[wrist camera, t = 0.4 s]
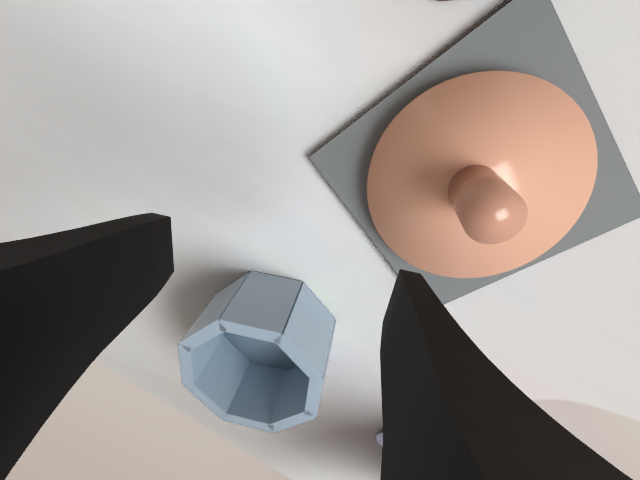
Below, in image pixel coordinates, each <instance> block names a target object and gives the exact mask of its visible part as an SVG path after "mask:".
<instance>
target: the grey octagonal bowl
mask: <svg viewBox="0 0 640 480" xmlns="http://www.w3.org/2000/svg"><path fill="white" fill-rule="evenodd" d="M335 322H336V320H335V317H334V316H333V315H332V314H331V313H330V312H329V311H328V309H327V308H326V307H325V306H324V305H323V304H322V302H321V301H320V300H319V299H318V298H317V297H316V296H315V294H314V293H313V292H312V291H311V290H310V289H309V288H308V286H307V285H306V284H305V283H304V282H303V283H302V281H299V280H294V279H289V278H284V277H279V276H274V275H269V274H264V273H259V272H255V271H251V272H248V273H247V274H245V275H243V276H242V277H240V278H239V279H237V280H236V281H234V282H233V283H231V284H230V285H228V286H227V287H225V288H224V289H222V290H220V291H219V292H217V293H216V294H215V296H214V297H213V298H212V300H211V301H210V302H209V304H208V305H207V306H206V307H205V309H204V310H203V311H202V313H201V314H200V315H199V317H198V318H197V319H196V321H195V322H194V323H193V325H192V326H191V327H190V329H189V330H188V331H187V332H186V334H185V335H184V336H183V338H182V339H181V340H180V342H179V343H178V351H179V360H180V369H181V378H182V384H183V386H184V387H185V388H186V389H187V390H188V391H190V392H191V393H192V394H193V395H194V396H195V397H196V398H197V399H199V400H200V401H201V402H202V403H203V404H204V405H205V406H206V407H208V408H209V409H210V410H211V411H212V412H213V413H214V414H215V415H217V416H218V417H219V418H220V419H222V420H224V421H228V422H232V423H236V424H240V425H244V426H248V427H252V428H256V429H260V430H264V431H267V432H271V433H273V432H274V433H276V432H279V431H281V430H284V429H287V428H290V427H293V426H296V425H298V424H301V423H304V422H307V421H310V420H313V419H315V418H316V417H317V414H318V409H319V404H320V399H321V394H322V390H323V385H324V380H325V375H326V370H327V365H328V360H329V355H330V349H331V344H332V338H333V333H334V327H335Z"/></svg>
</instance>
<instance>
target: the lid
mask: <svg viewBox="0 0 640 480" xmlns="http://www.w3.org/2000/svg"><path fill="white" fill-rule="evenodd" d="M597 166H598V159H597V146H596V140H595V136H594V133H593V130H592V127H591V125H590V122H589V121H588V119H587V117H586V115H585V114H584V112H583V110H582V109H581V108H580V107H579V105H578V104H577V103H576V102H575V101H574V100H573V98H571V97H570V96H569V95H568V94H566V93H565V92H564V91H563V90H562V89H560V88H559V87H557V86H555V85H553V84H552V83H550V82H548V81H546V80H544V79H541V78H538V77H535V76H533V75H529V74H524V73H519V72H513V71H493V70H492V71H480V72H473V73H468V74H463V75H459V76H456V77H453V78H451V79H448V80H445V81H443V82H441V83H438V84H436V85H434V86H432V87H430V88H429V89H427V90H426V91H424V92H422V93H421V94H419V95H418V96H416V97H415V98H414V99H413V100H411V101H410V102H409V103H408V104H407V105H406V106H404V107H403V108H402V109H401V110H400V111H399V113H398V114H397V115H396V116H395V117H394V118H393V119H392V121H391V122H390V123H389V125H388V126H387V127H386V129H385V130H384V132H383V134H382V136H381V137H380V139H379V141H378V143H377V145H376V148H375V150H374V153H373V155H372V159H371V163H370V167H369V172H368V180H367V199H368V206H369V211H370V214H371V217H372V221H373V223H374V225H375V227H376V229H377V231H378V233H379V234H380V236H381V237H382V239H383V241H384V242H385V243H386V244H387V245H388V246H389V248H390V249H391V250H392V251H393V252H395V253H396V254H397V255H398V256H399V257H400V258H402V259H403V260H405V261H406V262H408V263H409V264H411V265H413V266H415V267H417V268H419V269H421V270H424V271H426V272H429V273H432V274H436V275H440V276H445V277H452V278H479V277H486V276H492V275H496V274H500V273H504V272H507V271H510V270H513V269H515V268H518V267H520V266H522V265H524V264H526V263H528V262H530V261H532V260H534V259H536V258H537V257H539V256H540V255H542V254H543V253H545V252H546V251H548V250H549V249H550V248H551V247H553V246H554V245H555V244H556V243H558V242H559V241H560V240H561V239H562V238H563V237H564V236H565V235H566V234H567V233H568V232H569V230H570V229H571V228H572V226H573V225H574V224H575V223H576V221H577V220H578V219H579V217H580V215H581V214H582V212H583V210H584V209H585V207H586V205H587V203H588V200H589V198H590V196H591V194H592V190H593V187H594V183H595V180H596V173H597Z"/></svg>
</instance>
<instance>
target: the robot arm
mask: <svg viewBox="0 0 640 480" xmlns="http://www.w3.org/2000/svg"><path fill="white" fill-rule="evenodd" d="M173 272H174V263H173V248H172V232H171V217H168V216H164V215H159V214H155V213H147V214H140V215H134V216H129V217H125V218H120V219H116V220H111V221H107V222H103V223H98V224H94V225H90V226H85V227H81V228H77V229H72V230H67V231H62V232H57V233H52V234H48V235H43V236H38V237H33V238H28V239H22V240H16V241H10V242H3V243H0V480H5V478H6V477H7V475H8V474H9V472H10V471H11V469H12V468H13V466H14V465H15V464H16V462H17V461H18V459H19V458H20V457H21V455H22V454H23V452H24V451H25V449H26V448H27V447H28V445H29V444H30V442H31V441H32V439H33V438H34V437H35V435H36V434H37V433H38V431H39V430H40V428H41V427H42V426H43V424H44V423H45V421H46V420H47V419H48V418H49V416H50V415H51V414H52V412H53V411H54V410H55V408H56V407H57V406H58V404H59V403H60V402H61V400H62V399H63V398H64V397H65V395H66V394H67V392H68V391H69V390H70V389H71V388H72V386H73V385H74V384H75V383H76V381H77V380H78V379H79V378H80V376H81V375H82V374H83V373H84V372H85V370H86V369H87V368H88V367H89V365H90V364H91V363H92V362H93V361H94V360H95V359H96V357H97V356H98V355H99V354H100V353H101V352H102V351H103V350H104V349H105V348H106V347H107V346H108V345H109V344H110V343H111V342H112V341H113V340H114V339H115V338H116V337H117V336H118V335H119V334H120V333H121V332H122V331H123V330H124V329H125V328H126V327H127V326H128V325H129V324H130V322H131V321H132V320H133V319H134V318H135V317H136V316H137V315H138V314H139V313H140V312H141V311H142V310H143V309H144V308H145V307H146V306H147V305H148V304H149V303H150V302H151V301H152V300H153V299H154V298H155V297H156V296H157V294H158V293H159V292H160V290H161V289H162V288H163V286H164V285H165V284H166V282H167V281H168V279H169V278H170V276H171V275H172V274H173ZM380 362H381V389H382V415H383V432H382V433H379V434H377V436H376V441H377V442H378V443H379V444H380V446H381V447H382V465H381V480H633V479H631V478H630V477H628V476H627V475H625V474H624V473H622V472H621V471H619V470H618V469H617V468H615V467H614V466H613V465H612V464H610V463H609V462H608V461H606V460H605V459H604V458H602V457H601V456H600V455H599V454H597V453H596V452H595V451H593V450H592V449H590V448H589V447H588V446H587V445H585V444H584V443H583V442H581V441H580V440H579V439H577V438H576V437H575V436H574V435H572V434H571V433H570V432H569V431H568V430H566V429H565V428H564V427H563V426H561V425H560V424H559V423H558V422H556V421H555V420H554V419H553V418H552V417H550V416H549V415H548V414H547V413H546V412H545V411H544V410H542V409H541V408H540V407H539V406H538V405H537V404H535V403H534V402H533V401H532V400H531V399H530V398H529V397H527V396H526V395H525V394H524V393H523V392H522V391H521V390H520V389H519V388H518V387H516V386H515V385H514V384H513V383H512V382H511V381H510V380H509V379H508V378H507V377H506V376H505V375H504V374H503V373H502V372H501V371H500V370H499V369H498V368H497V367H496V366H495V365H494V364H493V363H492V362H491V361H490V360H489V359H488V358H487V357H486V356H485V355H484V354H483V353H482V352H481V350H480V349H479V348H478V347H477V346H476V345H475V344H474V342H473V341H472V340H471V339H470V338H469V337H468V336H467V334H466V333H465V332H464V331H463V330H462V328H461V327H460V326H459V325H458V323H457V322H456V321H455V320H454V318H453V317H452V316H451V315H450V313H449V312H448V311H447V309H446V308H445V307H444V305H443V304H442V303H441V301H440V300H439V298H438V297H437V296H436V294H435V293H434V291H433V290H432V289H431V287H430V286H429V284H428V283H427V281H426V280H425V279H424V277H423V276H422V275H421V274H420V273H416V272H411V271H407V270H403V269H400V270H399V273H398V276H397V279H396V282H395V285H394V289H393V292H392V295H391V298H390V301H389V304H388V307H387V310H386V314H385V317H384V320H383V326H382V336H381V348H380Z"/></svg>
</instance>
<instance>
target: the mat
mask: <svg viewBox="0 0 640 480" xmlns="http://www.w3.org/2000/svg"><path fill="white" fill-rule="evenodd" d="M492 70H493V71H513V72H519V73H524V74H529V75H533V76H535V77H538V78H541V79H544V80H546V81H548V82H550V83H552V84H553V85H555V86H557V87H559V88H560V89H562V90H563V91H564V92H565V93H566V94H568V95H569V96H570V97H571V98H573V100H574V101H575V102H576V103H577V104H578V105H579V107H580V108H581V109H582V110H583V112H584V114H585V115H586V117H587V119H588V121H589V122H590V125H591V127H592V130H593V133H594V136H595V140H596V146H597V159H598V166H597V173H596V180H595V183H594V187H593V190H592V194H591V196H590V198H589V200H588V203H587V205H586V207H585V209H584V210H583V212H582V214H581V215H580V217H579V219H578V220H577V221H576V223H575V224H574V225H573V226H572V228H571V229H570V230H569V232H568V233H567V234H566V235H565V236H564V237H563V238H562V239H561V240H560V241H559V242H558V243H556V244H555V245H554V246H553V247H551V248H550V249H549V250H548V251H546V252H545V253H543V254H542V255H540V256H539V257H537V258H536V259H534V260H532V261H530V262H528V263H526V264H524V265H522V266H520V267H518V268H515V269H513V270H510V271H507V272H504V273H500V274H496V275H492V276H486V277H479V278H452V277H445V276H440V275H436V274H432V273H429V272H426V271H424V270H421V269H419V268H417V267H415V266H413V265H411V264H409V263H408V262H406V261H405V260H403V259H402V258H400V257H399V256H398V255H397V254H396V253H395V252H393V251H392V250H391V249H390V248H389V246H388V245H387V244H386V243H385V242H384V241H383V239H382V237H381V236H380V234H379V233H378V231H377V229H376V227H375V225H374V223H373V221H372V217H371V214H370V211H369V206H368V199H367V180H368V172H369V167H370V163H371V159H372V155H373V153H374V150H375V148H376V145H377V143H378V141H379V139H380V137H381V136H382V134H383V132H384V130H385V129H386V127H387V126H388V125H389V123H390V122H391V121H392V119H393V118H394V117H395V116H396V115H397V114H398V113H399V111H400V110H401V109H402V108H403V107H404V106H406V105H407V104H408V103H409V102H410V101H411V100H413V99H414V98H415V97H416V96H418V95H419V94H421V93H422V92H424V91H426V90H427V89H429V88H430V87H432V86H434V85H436V84H438V83H441V82H443V81H445V80H448V79H451V78H453V77H456V76H459V75H463V74H468V73H473V72H480V71H492ZM309 159H310V160H311V161H312V163H313V164H314V165H315V167H316V168H317V169H318V171H319V172H320V173H321V175H322V176H323V177H324V179H325V180H326V181H327V183H328V184H329V185H330V186H331V188H332V189H333V190H334V192H335V193H336V194H337V196H338V197H339V198H340V200H341V201H342V202H343V204H344V205H345V206H346V208H347V209H348V210H349V212H350V213H351V214H352V215H353V217H354V218H355V219H356V221H357V222H358V223H359V225H360V226H361V227H362V229H363V230H364V231H365V233H366V234H367V235H368V237H369V238H370V239H371V240H372V242H373V243H374V244H375V246H376V247H377V248H378V250H379V251H380V252H381V254H382V255H383V256H384V258H385V259H386V260H387V262H388V263H389V264H390V266H391V267H392V268H393V269H394V271H395V272H396V273H397V275H398V273H399V270H400V269H403V270H407V271H411V272H416V273H420V274H421V275H422V276H423V277H424V279H425V280H426V281H427V283H428V284H429V286H430V287H431V289H432V290H433V291H434V293H435V294H436V296H437V297H438V298H439V300H440V301H441V303H442V304H443V305H444V304H446V303H448V302H450V301H453V300H455V299H457V298H459V297H462V296H464V295H466V294H468V293H471V292H473V291H475V290H477V289H480V288H482V287H484V286H486V285H489V284H491V283H493V282H495V281H498V280H500V279H502V278H504V277H507V276H509V275H511V274H514V273H516V272H518V271H520V270H523V269H525V268H527V267H529V266H532V265H534V264H536V263H538V262H541V261H543V260H545V259H547V258H550V257H552V256H554V255H556V254H559V253H561V252H563V251H565V250H568V249H570V248H572V247H574V246H577V245H579V244H581V243H583V242H586V241H588V240H590V239H592V238H595V237H597V236H599V235H601V234H604V233H606V232H608V231H610V230H613V229H615V228H617V227H619V226H622V225H624V224H626V223H628V222H631V221H633V220H635V219H638V218H640V194H639V192H638V190H637V187H636V185H635V183H634V181H633V179H632V177H631V174H630V172H629V170H628V168H627V166H626V163H625V161H624V159H623V157H622V155H621V153H620V150H619V148H618V146H617V144H616V142H615V139H614V137H613V135H612V133H611V131H610V129H609V126H608V124H607V122H606V120H605V118H604V115H603V113H602V111H601V109H600V107H599V105H598V102H597V100H596V98H595V96H594V94H593V91H592V89H591V87H590V85H589V83H588V81H587V78H586V76H585V74H584V72H583V70H582V67H581V65H580V63H579V61H578V59H577V57H576V54H575V52H574V50H573V48H572V46H571V43H570V41H569V39H568V37H567V35H566V33H565V30H564V28H563V26H562V24H561V22H560V19H559V17H558V15H557V13H556V11H555V9H554V6H553V4H552V2H551V0H511V1H510V2H509V3H507V4H506V5H505V6H504V7H502V8H501V9H500V10H498V11H497V12H496V13H495V14H493V15H492V16H491V17H489V18H488V19H487V20H485V21H484V22H483V23H482V24H480V25H479V26H478V27H476V28H475V29H474V30H473V31H471V32H470V33H469V34H467V35H466V36H465V37H463V38H462V39H461V40H460V41H458V42H457V43H456V44H454V45H453V46H452V47H451V48H449V49H448V50H447V51H445V52H444V53H443V54H441V55H440V56H439V57H438V58H436V59H435V60H434V61H432V62H431V63H430V64H429V65H427V66H426V67H425V68H423V69H422V70H421V71H419V72H418V73H417V74H416V75H414V76H413V77H412V78H410V79H409V80H408V81H407V82H405V83H404V84H403V85H401V86H400V87H399V88H397V89H396V90H395V91H394V92H392V93H391V94H390V95H388V96H387V97H386V98H385V99H383V100H382V101H381V102H379V103H378V104H377V105H375V106H374V107H373V108H372V109H370V110H369V111H368V112H366V113H365V114H364V115H363V116H361V117H360V118H359V119H357V120H356V121H355V122H353V123H352V124H351V125H350V126H348V127H347V128H346V129H344V130H343V131H342V132H341V133H339V134H338V135H337V136H335V137H334V138H333V139H331V140H330V141H329V142H328V143H326V144H325V145H324V146H322V147H321V148H320V149H319V150H317V151H316V152H315V153H313V154H312V155H311V156H310V157H309Z"/></svg>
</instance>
